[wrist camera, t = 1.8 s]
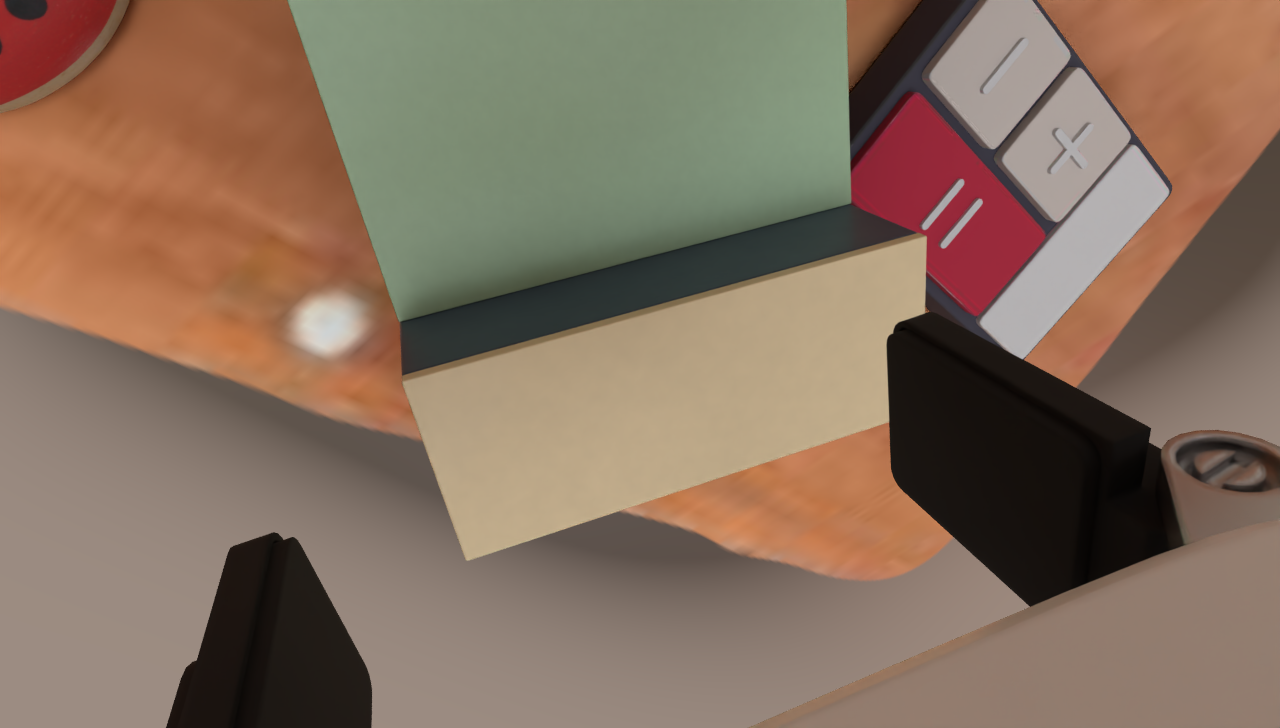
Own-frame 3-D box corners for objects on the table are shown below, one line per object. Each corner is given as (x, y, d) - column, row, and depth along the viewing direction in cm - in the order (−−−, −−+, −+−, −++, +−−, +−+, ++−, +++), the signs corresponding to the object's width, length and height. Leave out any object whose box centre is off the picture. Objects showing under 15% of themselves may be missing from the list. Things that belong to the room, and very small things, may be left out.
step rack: (205, -327, 21) (25, -661, 10) (703, -372, 24) (951, -670, 13) (439, 380, 32) (466, 562, 21) (761, 290, 34) (922, 411, 24)
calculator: (1017, -52, 27) (1193, 192, 34) (944, -41, 31) (1115, 176, 38) (823, 192, 29) (1025, 379, 36) (777, 174, 33) (967, 346, 39)
